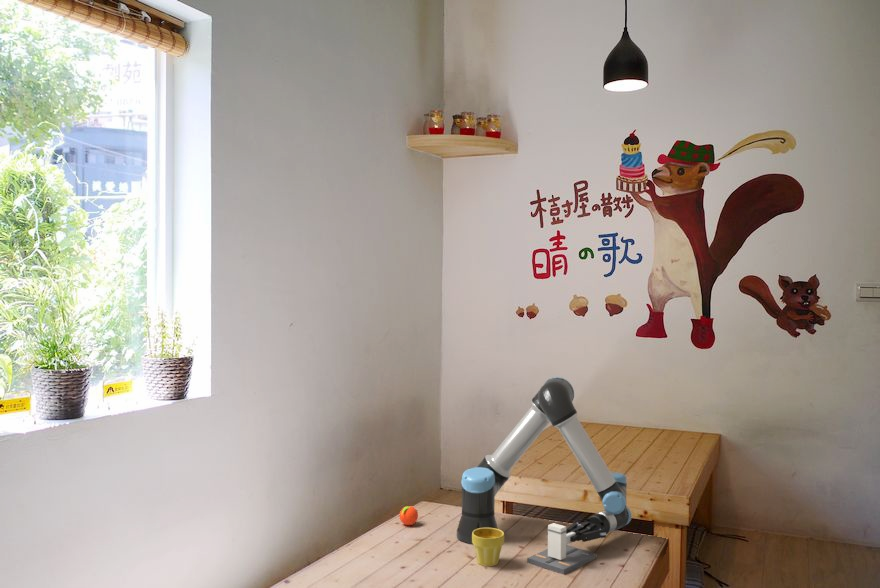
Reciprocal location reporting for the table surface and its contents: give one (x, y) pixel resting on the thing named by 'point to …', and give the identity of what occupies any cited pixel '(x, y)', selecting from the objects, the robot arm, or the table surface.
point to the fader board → (563, 560)
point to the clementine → (408, 515)
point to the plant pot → (487, 545)
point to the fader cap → (557, 541)
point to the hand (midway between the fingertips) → (562, 541)
